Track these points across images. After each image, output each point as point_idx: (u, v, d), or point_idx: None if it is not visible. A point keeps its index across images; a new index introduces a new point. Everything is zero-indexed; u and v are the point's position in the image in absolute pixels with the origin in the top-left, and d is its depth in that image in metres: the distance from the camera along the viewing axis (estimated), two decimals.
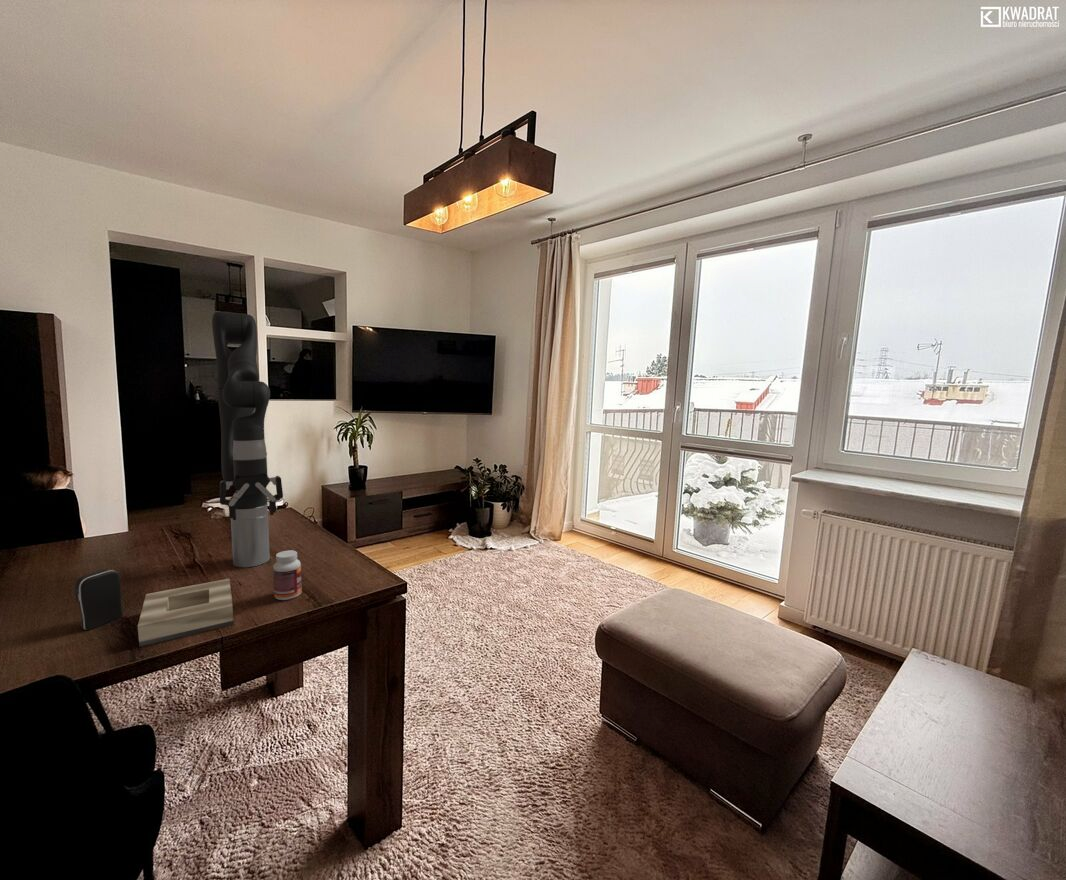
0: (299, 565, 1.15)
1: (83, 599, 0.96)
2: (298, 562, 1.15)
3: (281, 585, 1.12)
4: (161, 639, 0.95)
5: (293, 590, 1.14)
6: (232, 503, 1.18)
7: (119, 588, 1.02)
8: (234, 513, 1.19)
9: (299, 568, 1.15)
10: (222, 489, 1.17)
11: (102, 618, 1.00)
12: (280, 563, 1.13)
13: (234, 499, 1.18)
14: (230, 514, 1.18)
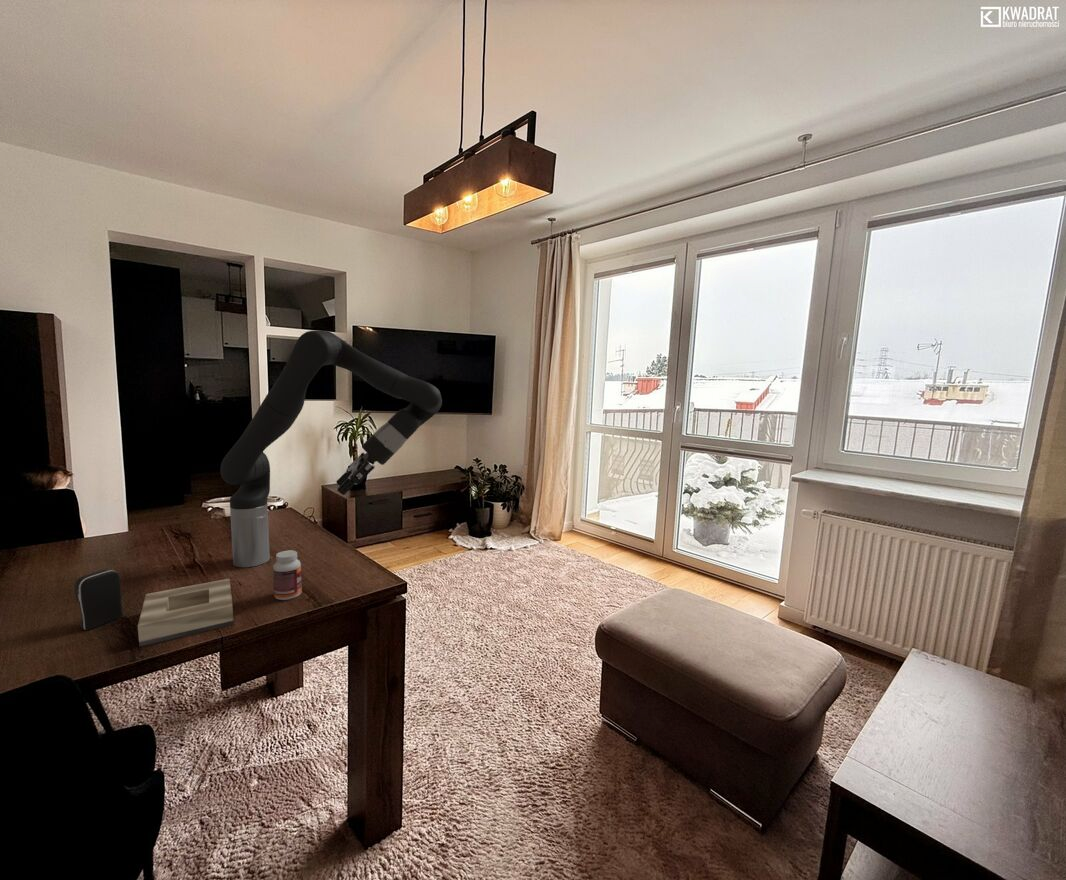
0: (299, 565, 1.15)
1: (83, 599, 0.96)
2: (298, 562, 1.15)
3: (281, 585, 1.12)
4: (161, 639, 0.95)
5: (293, 590, 1.14)
6: None
7: (119, 588, 1.02)
8: None
9: (299, 568, 1.15)
10: None
11: (102, 618, 1.00)
12: (280, 563, 1.13)
13: None
14: None
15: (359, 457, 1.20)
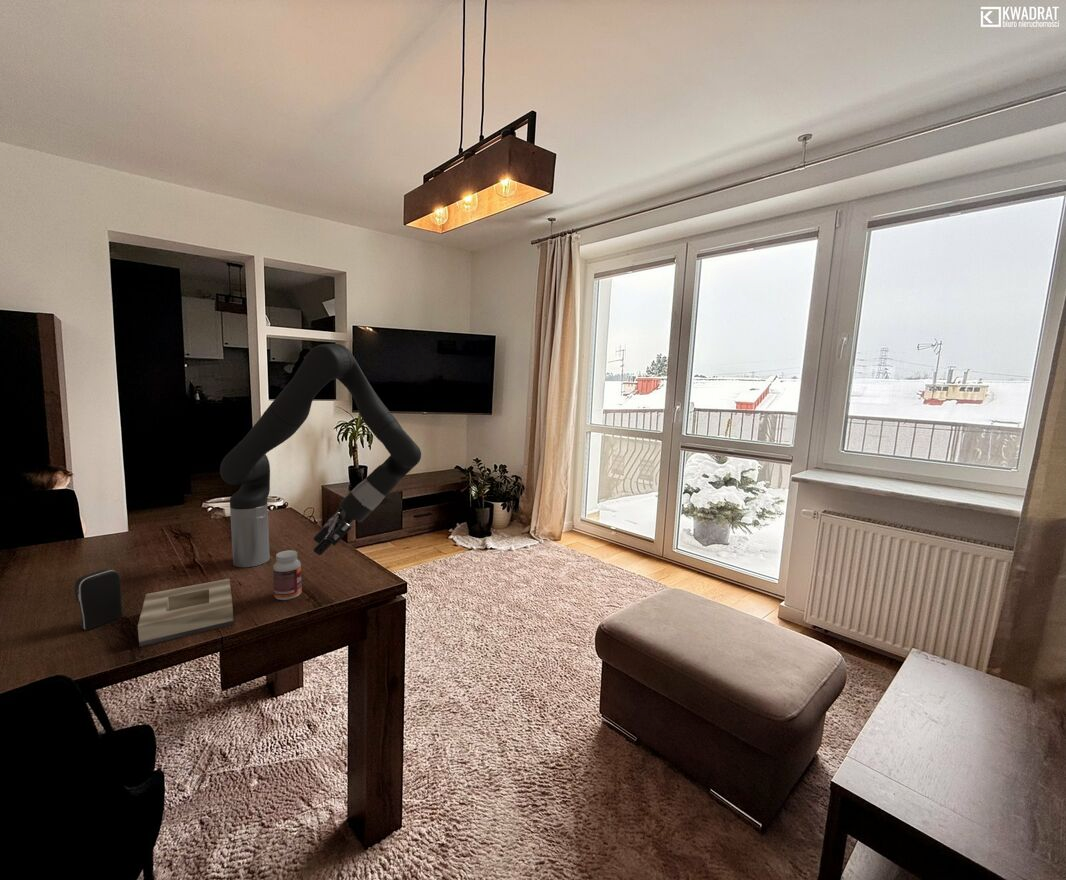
0: (299, 565, 1.15)
1: (83, 599, 0.96)
2: (298, 562, 1.15)
3: (281, 585, 1.12)
4: (161, 639, 0.95)
5: (293, 590, 1.14)
6: None
7: (119, 588, 1.02)
8: None
9: (299, 568, 1.15)
10: None
11: (102, 618, 1.00)
12: (280, 563, 1.13)
13: None
14: None
15: (337, 514, 1.19)
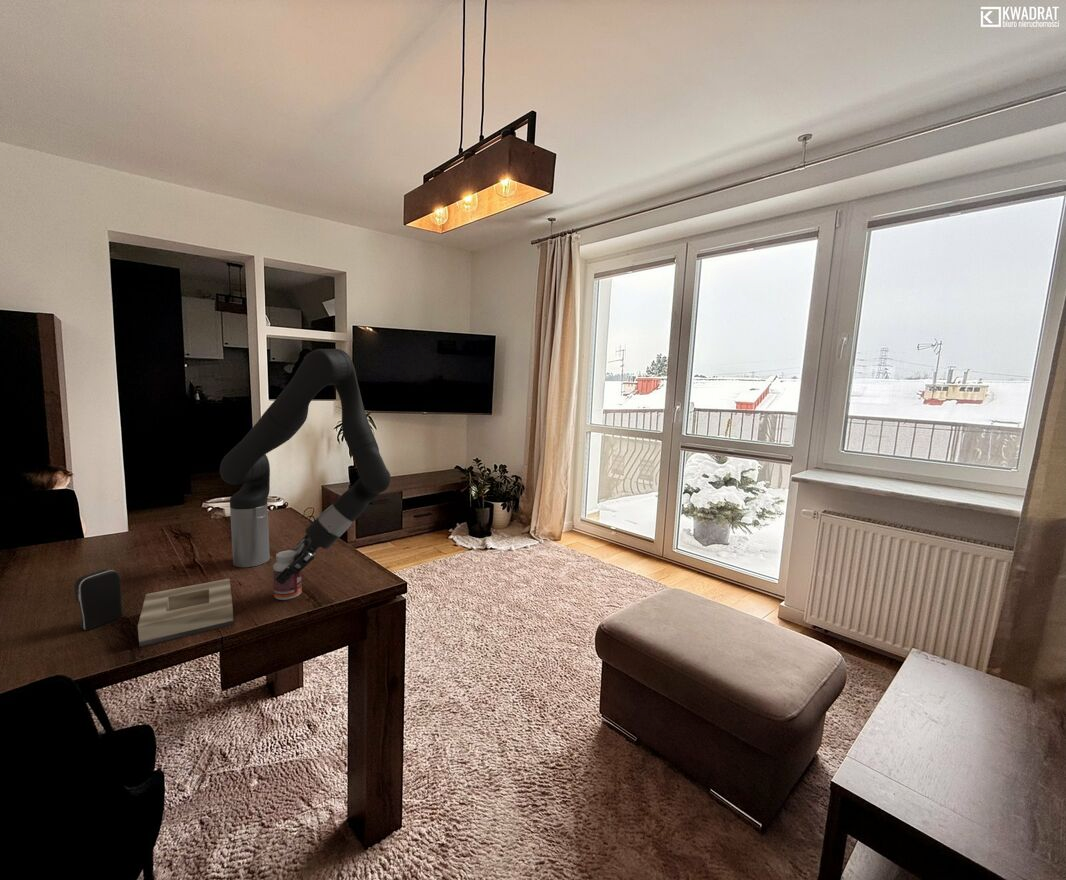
0: None
1: (83, 599, 0.96)
2: None
3: (281, 585, 1.12)
4: (161, 639, 0.95)
5: (293, 590, 1.14)
6: None
7: (119, 588, 1.02)
8: None
9: None
10: None
11: (102, 618, 1.00)
12: (280, 563, 1.13)
13: None
14: None
15: (303, 541, 1.16)
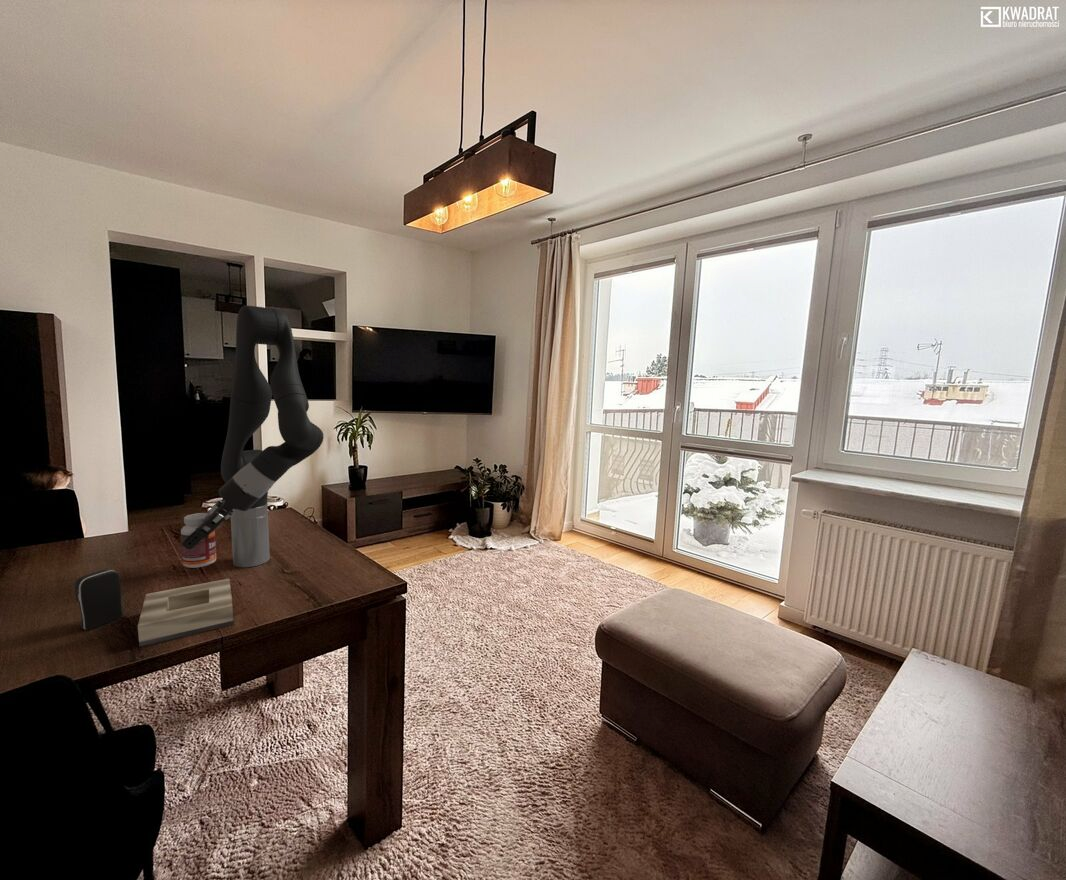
0: None
1: (83, 599, 0.96)
2: None
3: (190, 551, 1.00)
4: (161, 639, 0.95)
5: (204, 557, 1.01)
6: None
7: (119, 588, 1.02)
8: None
9: (212, 532, 1.03)
10: (219, 524, 0.99)
11: (102, 618, 1.00)
12: (188, 526, 1.00)
13: None
14: (193, 544, 0.99)
15: (217, 502, 1.04)
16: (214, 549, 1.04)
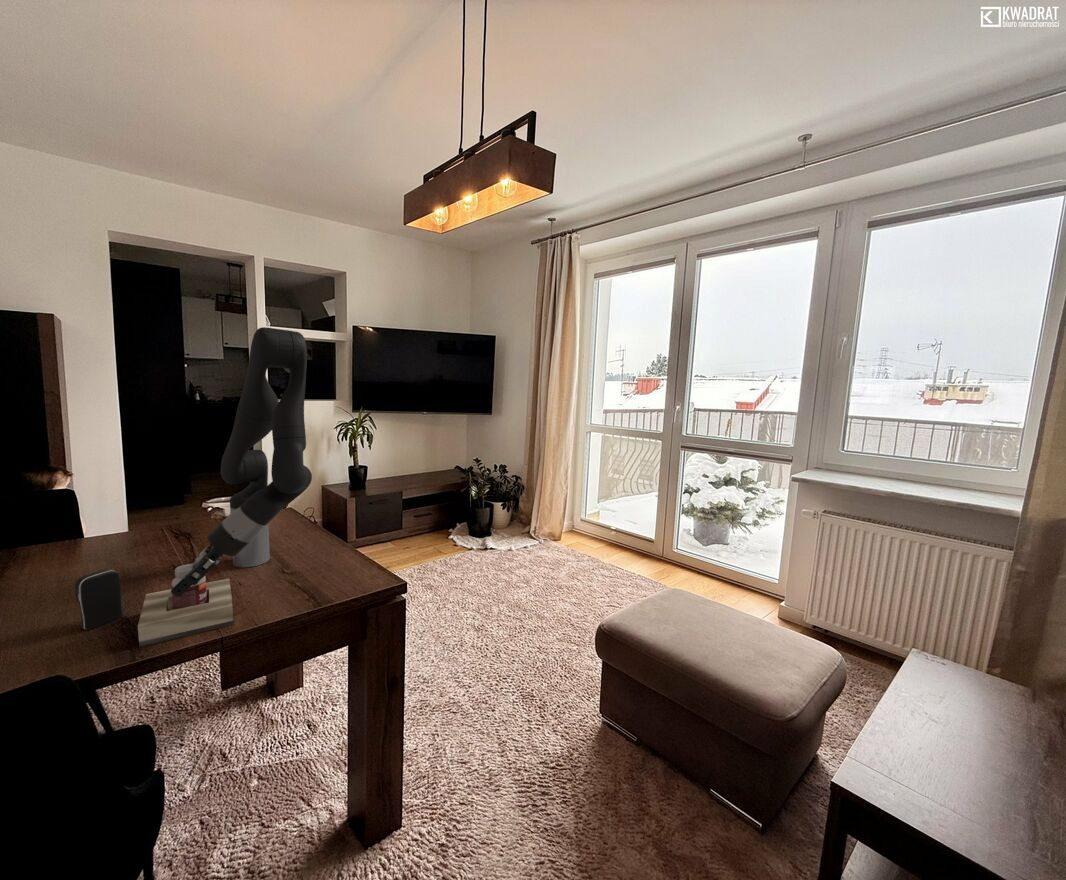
0: (203, 580, 1.03)
1: (83, 599, 0.96)
2: None
3: (180, 603, 1.00)
4: (161, 639, 0.95)
5: None
6: None
7: (119, 588, 1.02)
8: (186, 589, 0.99)
9: (203, 583, 1.03)
10: (209, 570, 0.98)
11: (102, 618, 1.00)
12: (179, 578, 1.01)
13: None
14: (182, 591, 0.98)
15: (206, 548, 1.04)
16: (205, 600, 1.04)
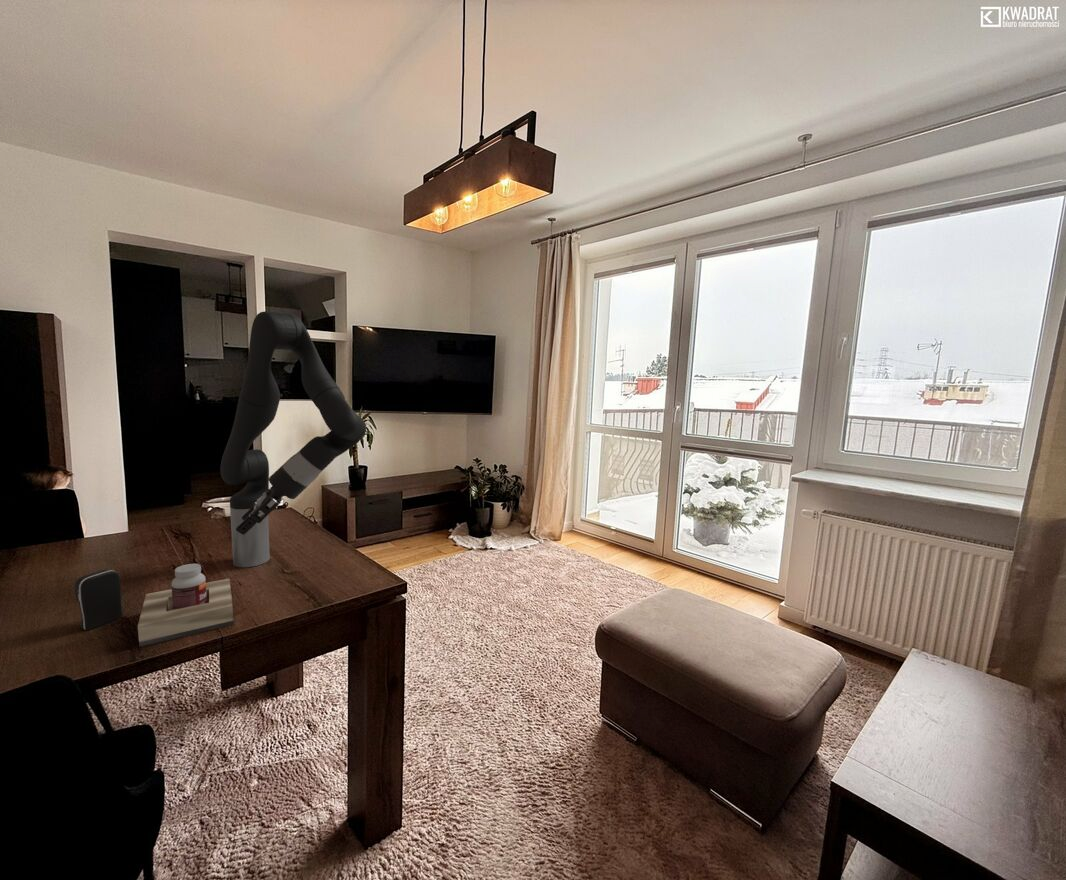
0: (203, 580, 1.03)
1: (83, 599, 0.96)
2: (202, 577, 1.03)
3: (180, 603, 1.00)
4: (161, 639, 0.95)
5: None
6: None
7: (119, 588, 1.02)
8: (250, 528, 1.03)
9: (203, 584, 1.03)
10: (272, 509, 1.02)
11: (102, 618, 1.00)
12: (179, 579, 1.00)
13: None
14: (247, 529, 1.02)
15: (266, 490, 1.07)
16: (205, 600, 1.04)
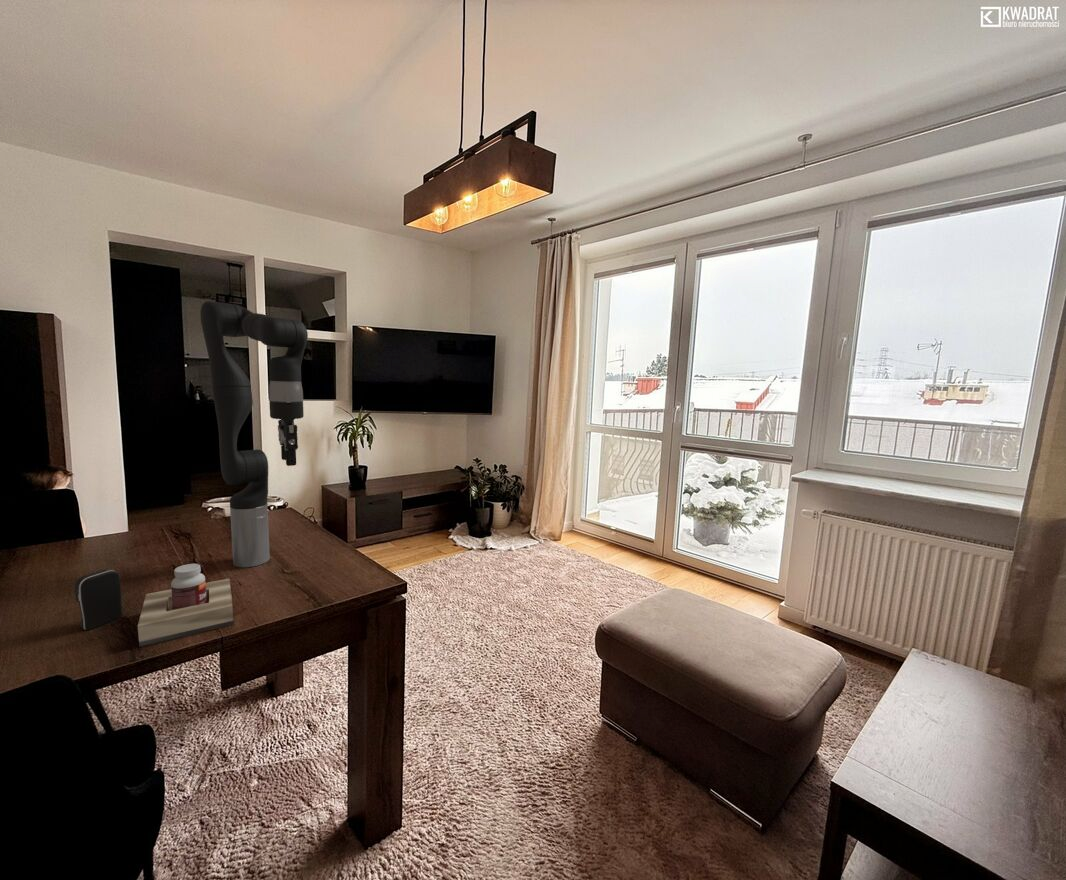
0: (202, 580, 1.03)
1: (83, 599, 0.96)
2: (201, 577, 1.03)
3: (180, 603, 1.00)
4: (161, 639, 0.95)
5: None
6: None
7: (119, 588, 1.02)
8: (295, 457, 1.15)
9: (202, 584, 1.03)
10: (296, 432, 1.12)
11: (102, 618, 1.00)
12: (179, 579, 1.00)
13: None
14: (294, 459, 1.14)
15: (278, 427, 1.16)
16: (205, 600, 1.04)
